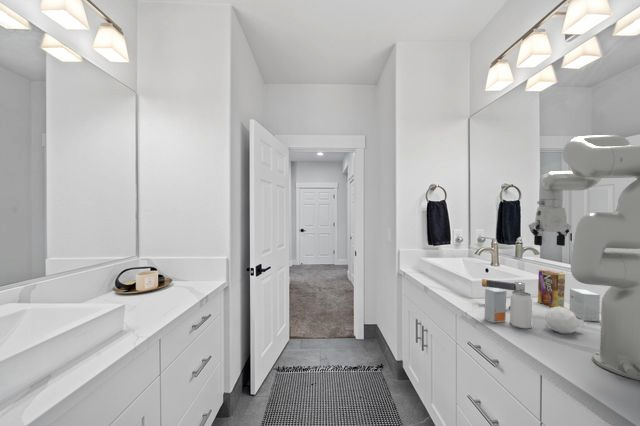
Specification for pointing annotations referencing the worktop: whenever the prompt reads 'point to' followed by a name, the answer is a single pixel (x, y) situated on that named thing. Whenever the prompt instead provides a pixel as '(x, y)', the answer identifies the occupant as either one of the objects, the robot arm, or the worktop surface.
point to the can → (521, 309)
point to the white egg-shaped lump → (562, 320)
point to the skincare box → (495, 305)
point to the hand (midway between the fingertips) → (549, 245)
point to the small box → (585, 304)
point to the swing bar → (504, 285)
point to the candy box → (551, 288)
